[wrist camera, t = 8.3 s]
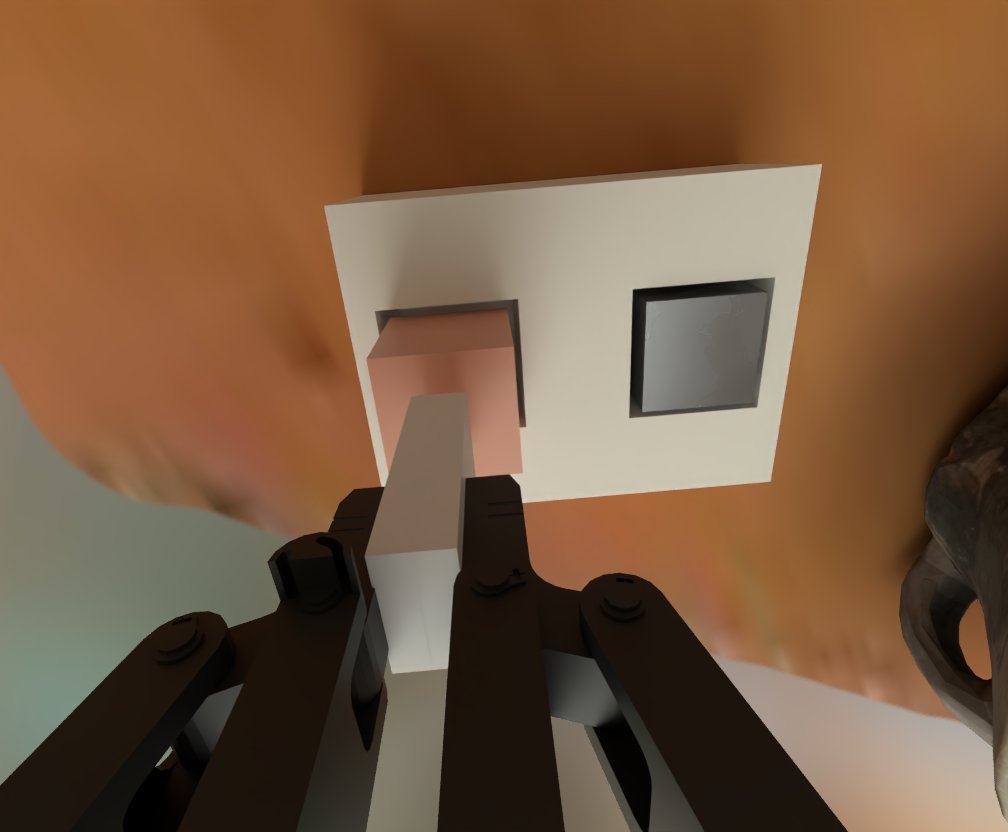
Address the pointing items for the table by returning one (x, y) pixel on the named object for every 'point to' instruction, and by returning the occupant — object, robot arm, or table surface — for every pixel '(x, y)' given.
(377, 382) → the pink cube
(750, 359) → the grey metal cube
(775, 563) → the table surface
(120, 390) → the table surface
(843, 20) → the table surface
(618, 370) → the block
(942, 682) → the bowl
